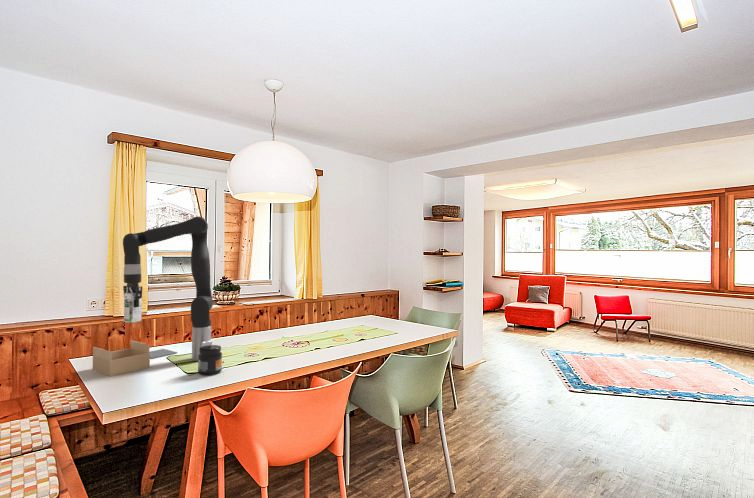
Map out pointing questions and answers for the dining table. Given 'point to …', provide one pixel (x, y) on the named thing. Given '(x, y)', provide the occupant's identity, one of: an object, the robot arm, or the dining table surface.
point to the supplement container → (209, 360)
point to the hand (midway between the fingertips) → (132, 306)
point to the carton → (121, 359)
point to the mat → (160, 353)
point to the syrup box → (131, 309)
